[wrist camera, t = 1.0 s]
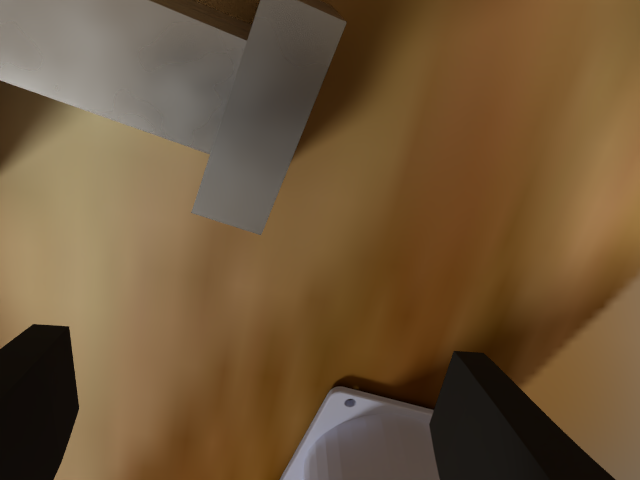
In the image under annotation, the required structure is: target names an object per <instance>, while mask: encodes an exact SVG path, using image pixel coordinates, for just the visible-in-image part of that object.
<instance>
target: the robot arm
mask: <svg viewBox="0 0 640 480" xmlns="http://www.w3.org/2000/svg"><path fill="white" fill-rule="evenodd" d="M347 399H353V400H347ZM78 410H79V404H78V395H77V387H76V379H75V371H74V363H73V355H72V346H71V338H70V330H69V326H53V325H37V324H33V325H32V326H30V327H29V328H28V329H26V330H25V331H24V332H22V333H21V334H20V335H18V336H17V337H16V338H14V339H13V340H12V341H10V342H9V343H8V344H6V345H5V346H4V347H3V348H1V349H0V480H53V479H54V477H55V475H56V473H57V471H58V468H59V466H60V464H61V462H62V459H63V456H64V453H65V450H66V447H67V444H68V441H69V438H70V435H71V432H72V429H73V426H74V423H75V420H76V417H77V414H78ZM280 480H615V479H614V478H613V477H612V476H611V475H610V474H609V473H607V472H606V471H605V470H604V469H603V468H602V467H601V466H600V465H599V464H597V463H596V462H595V461H594V460H593V459H592V458H591V457H590V456H589V455H588V454H587V453H585V452H584V451H583V450H582V449H581V448H580V447H579V446H578V445H577V444H576V443H575V442H574V441H573V440H572V439H571V438H570V437H568V436H567V435H566V434H565V433H564V432H563V431H562V430H561V429H560V428H559V427H558V426H557V425H556V424H555V423H554V422H553V421H552V420H551V419H550V418H549V417H548V416H547V415H546V414H545V413H544V412H543V411H542V410H541V409H540V408H539V407H538V406H537V405H536V404H535V403H534V402H533V401H532V400H531V399H530V398H529V397H528V396H527V395H526V394H525V393H524V392H523V391H522V390H521V389H520V388H519V387H518V386H517V385H516V384H515V383H514V382H513V381H512V380H511V379H510V378H509V377H508V376H507V375H506V374H505V373H504V372H503V371H502V370H501V369H500V368H499V367H498V366H497V365H496V364H495V363H494V362H493V361H492V360H491V359H489V358H488V357H487V356H486V355H485V354H484V353H476V352H460V351H454V352H453V355H452V358H451V361H450V364H449V367H448V370H447V373H446V376H445V379H444V382H443V385H442V388H441V391H440V394H439V397H438V400H437V403H436V406H435V409H434V410H432V409H428V408H424V407H420V406H416V405H412V404H408V403H405V402H401V401H397V400H393V399H389V398H385V397H381V396H377V395H374V394H370V393H366V392H362V391H358V390H354V389H350V388H346V387H341V386H338V387H334V388H333V389H331V390H330V391H329V393H328V394H327V396H326V398H325V400H324V401H323V403H322V405H321V407H320V409H319V410H318V412H317V414H316V416H315V418H314V419H313V421H312V423H311V425H310V426H309V428H308V430H307V432H306V434H305V435H304V437H303V439H302V441H301V442H300V444H299V446H298V448H297V450H296V451H295V453H294V455H293V457H292V459H291V460H290V462H289V464H288V466H287V467H286V469H285V471H284V473H283V475H282V476H281V478H280Z"/></svg>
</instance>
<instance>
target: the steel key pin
mask: <svg viewBox="0 0 640 480" xmlns="http://www.w3.org/2000/svg"><path fill="white" fill-rule="evenodd" d="M346 23H347V22H346V21H345V20H344V19H343V18H342V16H341V15H340V14H339V13H338V12H337V11H336V10H335V9H334V8H333V7H332V6H331V5H329V4H326V3H324V2H322V1H320V0H260V3H259V6H258V9H257V12H256V15H255V18H254V21H253V24H252V25H251V24H249V23H246V22H244V21H242V20H239V19H237V18H235V17H232V16H230V15H227V14H225V13H223V12H220V11H218V10H216V9H213V8H211V7H209V6H206V5H204V4H201V3H199V2H197V1H194V0H0V80H1V81H4V82H6V83H9V84H12V85H15V86H18V87H21V88H23V89H26V90H29V91H32V92H35V93H38V94H40V95H43V96H46V97H49V98H52V99H55V100H57V101H60V102H63V103H66V104H69V105H72V106H75V107H77V108H80V109H83V110H86V111H89V112H92V113H94V114H97V115H100V116H103V117H106V118H109V119H111V120H114V121H117V122H120V123H123V124H126V125H128V126H131V127H134V128H137V129H140V130H143V131H145V132H148V133H151V134H154V135H157V136H160V137H162V138H165V139H168V140H171V141H174V142H177V143H179V144H182V145H185V146H188V147H191V148H194V149H196V150H199V151H202V152H205V153H208V154H210V157H209V160H208V163H207V166H206V169H205V172H204V175H203V179H202V182H201V185H200V188H199V191H198V194H197V197H196V200H195V203H194V206H193V209H192V212H191V213H194V214H197V215H200V216H203V217H206V218H209V219H212V220H215V221H218V222H222V223H225V224H228V225H231V226H234V227H237V228H240V229H243V230H246V231H250V232H253V233H256V234H259V235H261V234H262V232H263V229H264V227H265V224H266V222H267V219H268V217H269V214H270V212H271V209H272V207H273V204H274V202H275V199H276V197H277V194H278V192H279V189H280V187H281V184H282V182H283V179H284V177H285V175H286V172H287V170H288V167H289V165H290V162H291V160H292V157H293V155H294V152H295V150H296V147H297V145H298V142H299V140H300V137H301V135H302V132H303V130H304V127H305V125H306V122H307V120H308V117H309V115H310V112H311V110H312V107H313V105H314V102H315V100H316V98H317V95H318V93H319V90H320V88H321V85H322V83H323V80H324V78H325V75H326V73H327V70H328V68H329V65H330V63H331V60H332V58H333V55H334V53H335V50H336V48H337V45H338V43H339V40H340V38H341V35H342V33H343V30H344V28H345V25H346Z"/></svg>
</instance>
